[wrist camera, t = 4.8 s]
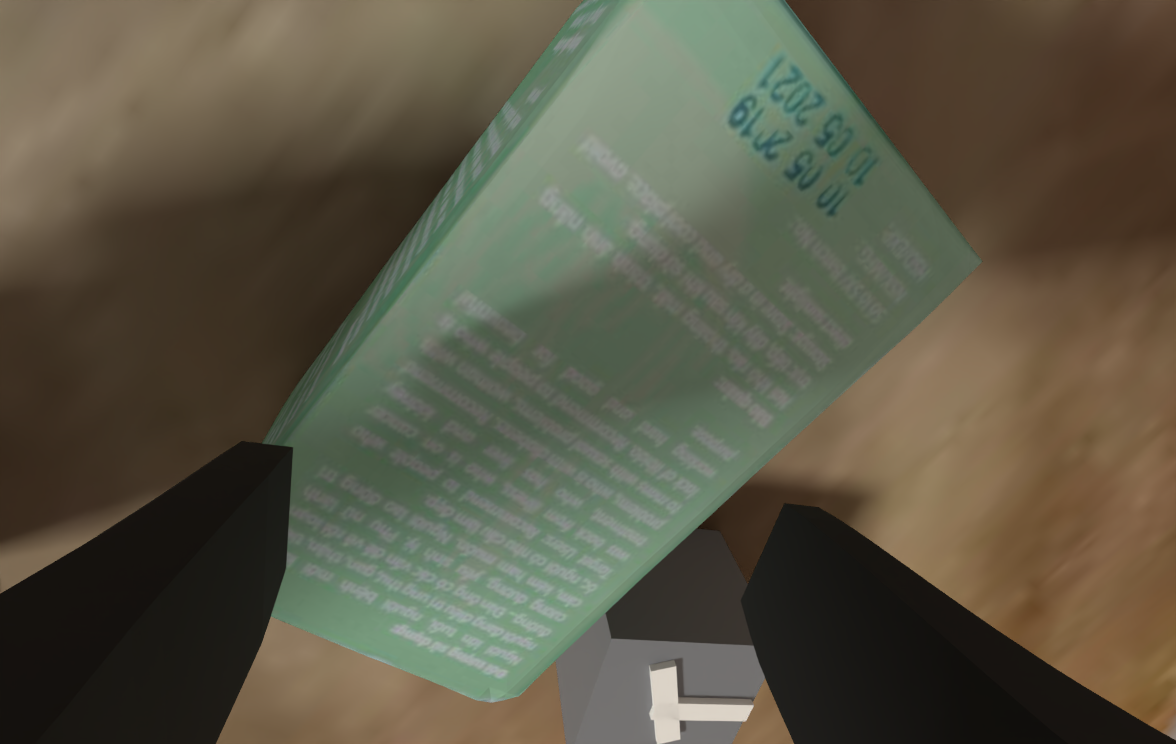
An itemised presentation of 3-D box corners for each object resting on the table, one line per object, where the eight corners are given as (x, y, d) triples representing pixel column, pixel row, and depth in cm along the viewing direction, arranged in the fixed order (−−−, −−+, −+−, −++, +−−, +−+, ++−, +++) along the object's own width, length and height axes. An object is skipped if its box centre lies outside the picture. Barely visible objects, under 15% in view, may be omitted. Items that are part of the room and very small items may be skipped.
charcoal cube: (551, 624, 22) (569, 768, 18) (583, 515, 20) (613, 644, 16) (677, 631, 23) (725, 767, 19) (719, 529, 21) (783, 653, 17)
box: (282, 398, 17) (154, 607, 10) (598, -30, 14) (712, -133, 7) (494, 515, 20) (503, 737, 13) (796, 184, 17) (1010, 255, 10)
